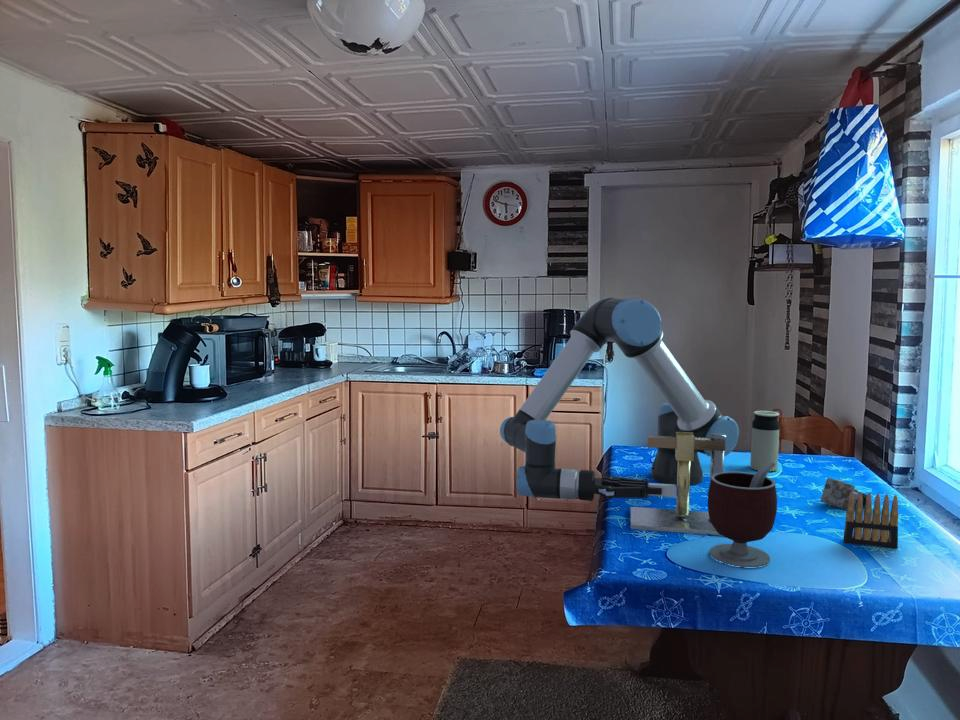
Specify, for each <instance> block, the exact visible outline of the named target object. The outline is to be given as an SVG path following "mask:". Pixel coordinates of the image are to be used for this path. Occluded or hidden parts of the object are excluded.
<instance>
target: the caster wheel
mask: <svg viewBox="0 0 960 720" xmlns="http://www.w3.org/2000/svg"><path fill="white" fill-rule="evenodd" d="M855 487H856V486H855V485H853V484H850V483H847V482H844V481H843V480H840V479H834V478H831V477H827V478H826V481H825V484H824V487H823V490H822V493H821V497H820V502H821V503H824V504H827V505H830V506H832V507H836V508H839V509H841V510H847V506H848V498H849V494H850V492H851V491H852V492H853V495H854V505H856V504H857V498H858V494H859V492H860V491H858V489H856V488H855ZM861 493H862V497H863V507H865V504H866V498H867V495H868V494H866V493H863V492H861Z"/></svg>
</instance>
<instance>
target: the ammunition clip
mask: <svg viewBox="0 0 960 720" xmlns="http://www.w3.org/2000/svg"><path fill="white" fill-rule="evenodd" d="M858 492H859V494H858V498H857V504H854V495H853V492H852V491H851V492H850V494H849V498H848V506H847V510H846V512H845V523H844V531H843V532H844V533H843V539H842V541H843V543H844V544H850V545H859V546H868V547H876V548H888V549H894V550H895V549H896V550H897V549H898V548H899V547H898V546H899V538H898V537H899V500H898V496H897V494H894V496H893V498H892V501H891V508H890V497H889V495H888V493H886V494H885V495H884V499H883V502H882V510H881V497H880V494H879V492H878V493H876V495H875V498H874V505H873V507H872V501H873V499H872V495H871V492H868V493H867V494H866V495H867V498H866V504H865V506H863V497H862V493H863V492H861V491H858ZM872 508H873V509H872ZM890 509H891V510H890Z"/></svg>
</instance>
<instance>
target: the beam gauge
mask: <svg viewBox="0 0 960 720" xmlns="http://www.w3.org/2000/svg"><path fill="white" fill-rule="evenodd" d="M646 437H647V441H646V445H647V448H657V449H658V448H676V449H677V437H673V436H658V435H652V434H651V435H650V434H649V435H647V436H646ZM725 441H726V435H725V434H721V433H712V434H711V436H710V438H695V437H694V449H696V450H711V457H710V469H709V470H710V472H709V483H710V482H711V476H712V475H714V474H716V473H721V472H725V471H724V470H725V469H724V468H725V456H724V451H725ZM630 530H639V531H640V530H641V531H653V532H669V533H679V534H680V533H682V534H693V533H694V534H695V533H696V534H695V535H697V534H698V535H707V536H708V534H710V535H711V536H721V535H720V534H719V533H718V532H717V531H716V530H715V528H714V527H713V525H712V524H711V522H710V518H709V513H708V511H702V510H701V511H699V510H698V511H697V510H689V514H688V515H684V518H680V515H678V514H676V509H671V508H670V509H669V508H655V507H640V506H630Z"/></svg>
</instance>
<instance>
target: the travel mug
mask: <svg viewBox="0 0 960 720" xmlns="http://www.w3.org/2000/svg"><path fill="white" fill-rule="evenodd" d="M753 415H754V419H753V421H751V424H752V425H751V439H750V440H751V442H750V443H751V445H750V465H749V466H750V468H751V469H752V470H754V469H755V470H754V471H757V470H760V469H761V468H763V467H765V466H766V465H768V464H770V463H772V462H773V463H775V466H773V467H772V468H771V469H770V470H769V471H773V472H775V471H777V470H778V466H779V465H778V462H779V447H780V446H779V443H780V441H779V440H780V421H779V420H778V418H779V416H780V413H779V412H776V411H773V410H772V411H771V410H755V411H753Z"/></svg>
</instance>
